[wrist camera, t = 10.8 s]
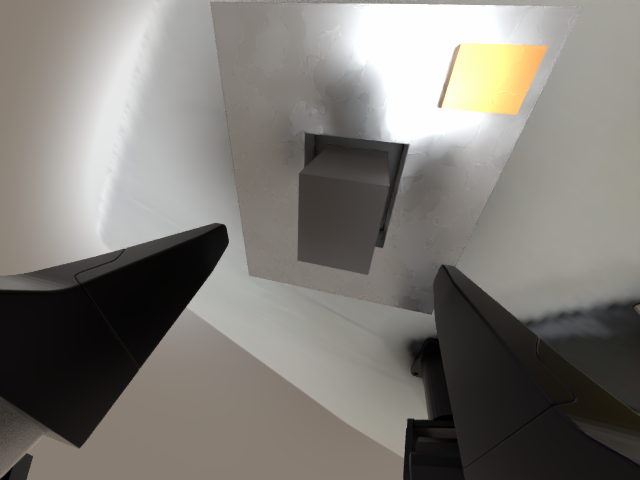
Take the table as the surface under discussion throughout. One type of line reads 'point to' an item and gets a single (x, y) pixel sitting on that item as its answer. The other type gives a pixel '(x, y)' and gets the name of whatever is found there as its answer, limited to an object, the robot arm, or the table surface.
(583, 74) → the table surface
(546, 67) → the socket plate
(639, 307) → the coffee box
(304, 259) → the plug
